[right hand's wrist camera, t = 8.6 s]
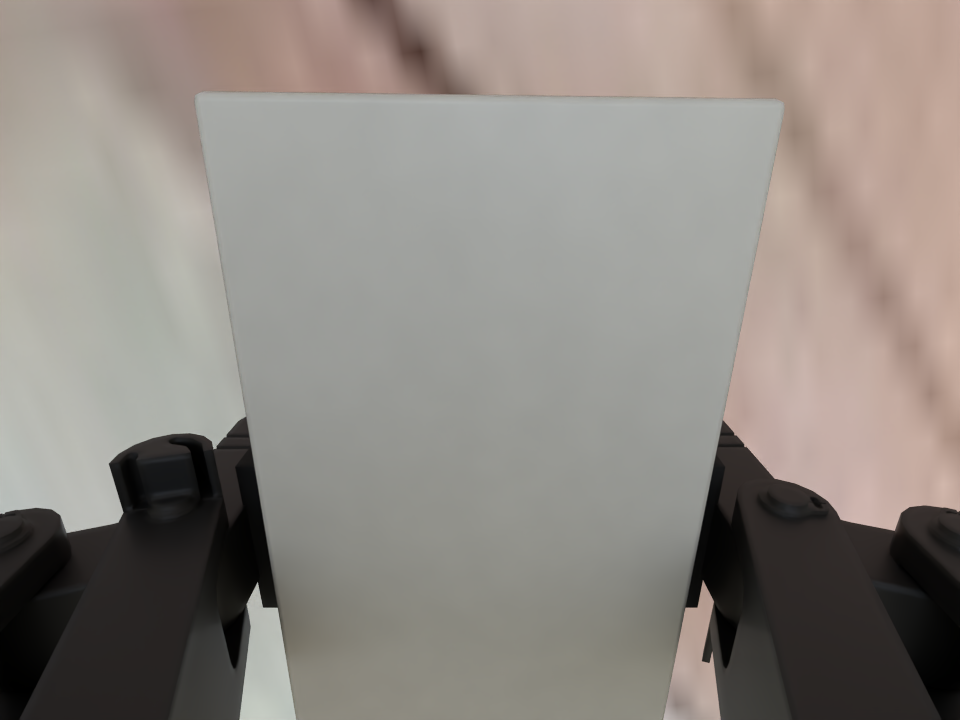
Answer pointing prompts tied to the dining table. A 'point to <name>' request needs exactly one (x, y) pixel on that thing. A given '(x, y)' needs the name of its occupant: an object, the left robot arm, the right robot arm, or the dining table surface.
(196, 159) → the dining table surface
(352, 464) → the beam
